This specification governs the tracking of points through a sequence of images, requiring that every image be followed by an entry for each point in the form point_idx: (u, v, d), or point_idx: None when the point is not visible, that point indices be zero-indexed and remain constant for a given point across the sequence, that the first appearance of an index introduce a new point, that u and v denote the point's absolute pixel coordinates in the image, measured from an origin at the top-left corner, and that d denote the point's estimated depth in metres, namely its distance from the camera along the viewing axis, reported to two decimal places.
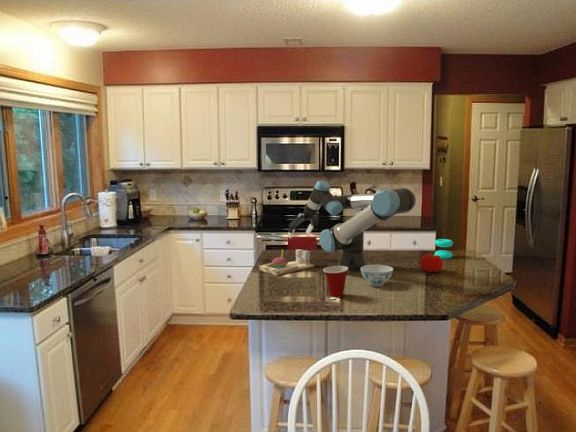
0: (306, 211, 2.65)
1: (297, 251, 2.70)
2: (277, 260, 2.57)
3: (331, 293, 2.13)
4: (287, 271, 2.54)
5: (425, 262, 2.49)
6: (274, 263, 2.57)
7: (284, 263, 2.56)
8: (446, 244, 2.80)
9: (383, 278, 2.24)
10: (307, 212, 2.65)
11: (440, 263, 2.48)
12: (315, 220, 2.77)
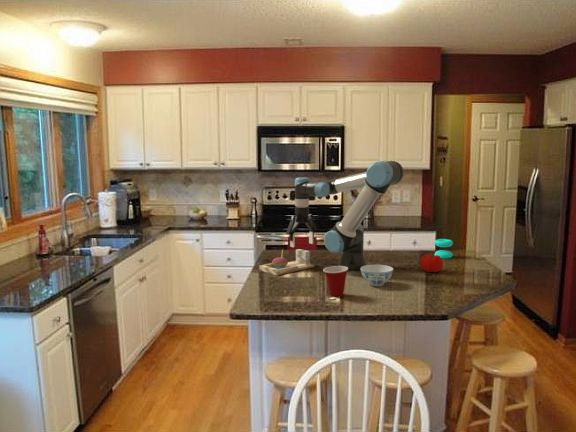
0: (297, 212, 2.64)
1: (297, 251, 2.70)
2: (277, 260, 2.57)
3: (331, 293, 2.13)
4: (287, 271, 2.54)
5: (425, 262, 2.49)
6: (274, 263, 2.57)
7: (284, 263, 2.56)
8: (446, 244, 2.80)
9: (383, 278, 2.24)
10: (298, 212, 2.63)
11: (440, 263, 2.48)
12: (312, 225, 2.72)
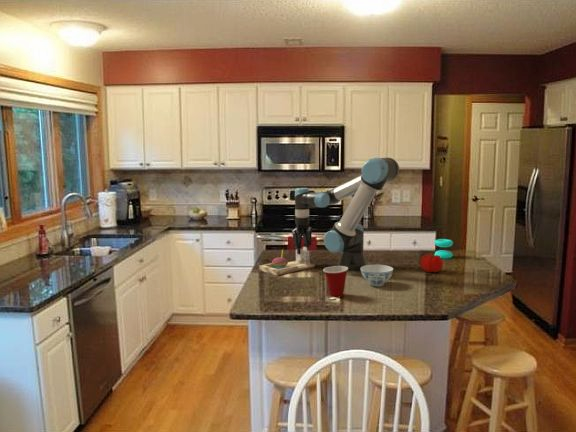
0: None
1: None
2: (277, 260, 2.57)
3: (331, 293, 2.13)
4: (287, 271, 2.54)
5: (425, 262, 2.49)
6: (274, 263, 2.57)
7: (284, 263, 2.56)
8: (446, 244, 2.80)
9: (383, 278, 2.24)
10: (299, 223, 2.64)
11: (440, 263, 2.48)
12: (308, 239, 2.71)
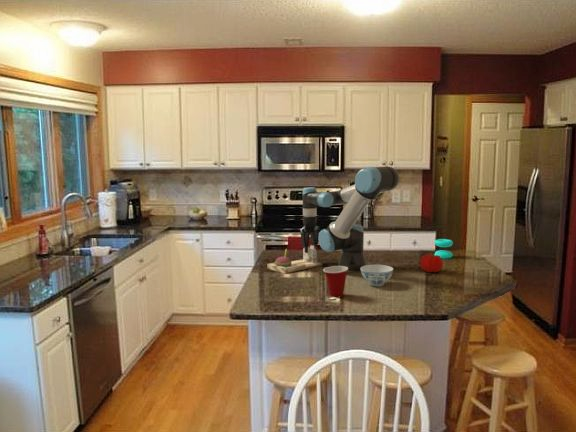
0: None
1: (304, 250, 2.74)
2: (280, 259, 2.58)
3: (331, 293, 2.13)
4: (295, 269, 2.57)
5: (425, 262, 2.49)
6: (277, 262, 2.58)
7: (287, 262, 2.58)
8: (446, 244, 2.80)
9: (383, 278, 2.24)
10: (306, 221, 2.67)
11: (440, 263, 2.48)
12: (315, 237, 2.75)
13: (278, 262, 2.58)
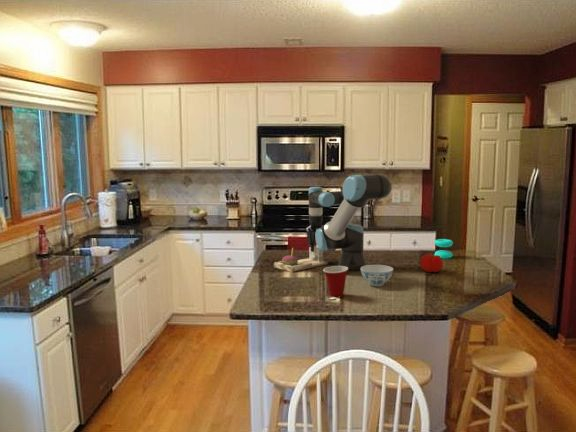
0: None
1: (310, 248, 2.77)
2: (287, 258, 2.61)
3: (331, 293, 2.13)
4: (302, 268, 2.60)
5: (425, 262, 2.49)
6: (284, 261, 2.61)
7: (294, 261, 2.60)
8: (446, 244, 2.80)
9: (383, 278, 2.24)
10: (312, 221, 2.70)
11: (440, 263, 2.48)
12: None
13: (285, 261, 2.61)
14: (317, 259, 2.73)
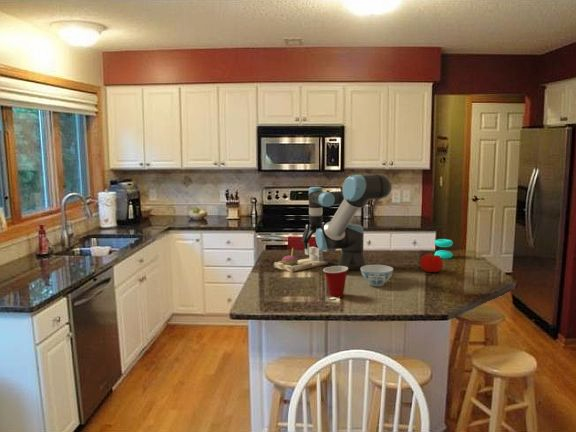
0: (311, 220, 2.71)
1: (310, 248, 2.77)
2: (287, 258, 2.61)
3: (331, 293, 2.13)
4: (302, 268, 2.60)
5: (425, 262, 2.49)
6: (284, 261, 2.61)
7: (294, 261, 2.60)
8: (446, 244, 2.80)
9: (383, 278, 2.24)
10: (312, 221, 2.70)
11: (440, 263, 2.48)
12: None
13: (285, 261, 2.61)
14: (317, 259, 2.73)
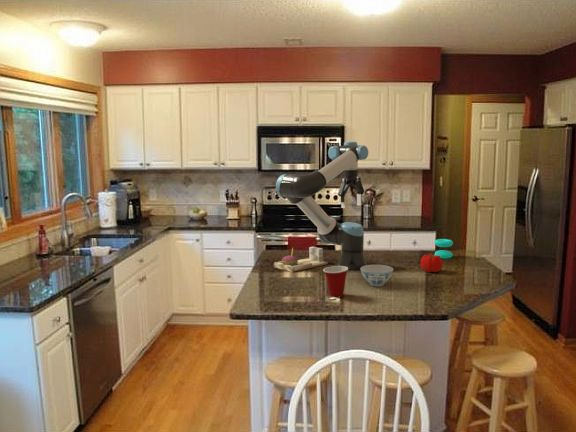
0: (347, 174, 2.77)
1: (310, 248, 2.77)
2: (287, 258, 2.61)
3: (331, 293, 2.13)
4: (302, 268, 2.60)
5: (425, 262, 2.49)
6: (284, 261, 2.61)
7: (294, 261, 2.60)
8: (446, 244, 2.80)
9: (383, 278, 2.24)
10: (348, 174, 2.76)
11: (440, 263, 2.48)
12: (360, 187, 2.86)
13: (285, 261, 2.61)
14: (317, 259, 2.73)
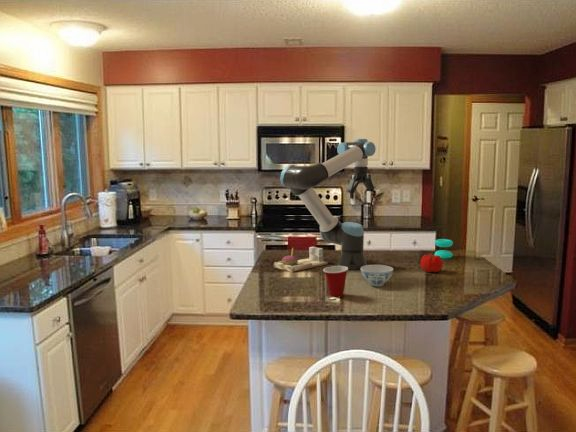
0: (357, 171, 2.79)
1: (310, 248, 2.77)
2: (287, 258, 2.61)
3: (331, 293, 2.13)
4: (302, 268, 2.60)
5: (425, 262, 2.49)
6: (284, 261, 2.61)
7: (294, 261, 2.60)
8: (446, 244, 2.80)
9: (383, 278, 2.24)
10: (358, 171, 2.78)
11: (440, 263, 2.48)
12: (370, 185, 2.88)
13: (285, 261, 2.61)
14: (317, 259, 2.73)
